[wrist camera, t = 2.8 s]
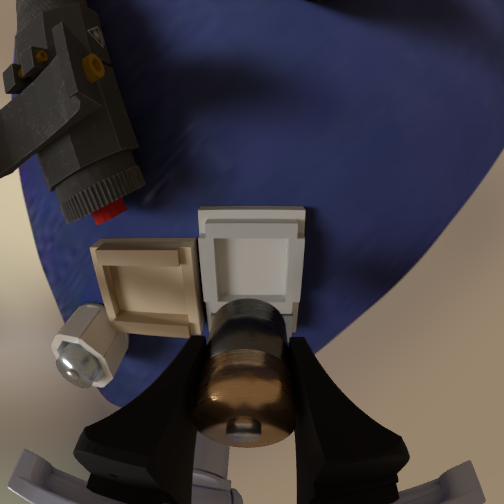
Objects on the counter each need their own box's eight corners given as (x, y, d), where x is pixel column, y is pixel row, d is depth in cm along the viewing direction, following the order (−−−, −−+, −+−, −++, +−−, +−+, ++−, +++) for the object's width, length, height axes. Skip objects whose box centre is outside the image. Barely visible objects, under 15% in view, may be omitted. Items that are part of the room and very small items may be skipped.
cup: (136, 354, 25) (119, 391, 21) (87, 347, 26) (67, 379, 21) (120, 304, 23) (97, 340, 18) (69, 299, 23) (43, 330, 19)
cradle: (294, 324, 23) (297, 343, 21) (210, 323, 24) (206, 342, 21) (303, 206, 19) (309, 216, 17) (200, 206, 19) (193, 216, 17)
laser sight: (113, -45, 11) (55, -95, 1) (188, 180, 19) (128, 228, 10) (27, 15, 12) (-45, 0, 3) (84, 225, 20) (4, 285, 11)
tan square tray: (204, 320, 23) (199, 338, 21) (119, 315, 24) (109, 330, 21) (195, 237, 20) (189, 250, 18) (100, 238, 21) (86, 250, 18)
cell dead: (119, 349, 24) (96, 395, 19) (89, 344, 24) (64, 386, 19) (109, 319, 23) (80, 365, 17) (78, 316, 23) (47, 357, 17)
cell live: (283, 355, 14) (291, 454, 9) (214, 354, 14) (198, 452, 9) (287, 298, 13) (303, 405, 7) (208, 297, 13) (181, 402, 8)
